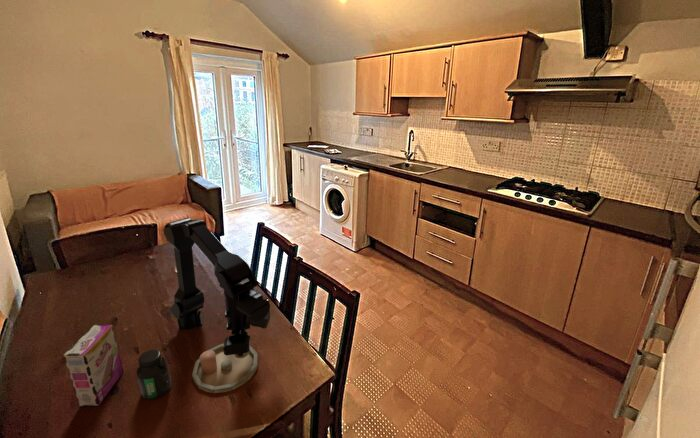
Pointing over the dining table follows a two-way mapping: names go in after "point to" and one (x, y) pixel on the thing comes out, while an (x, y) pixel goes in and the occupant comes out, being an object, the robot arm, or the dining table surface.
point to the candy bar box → (94, 365)
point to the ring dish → (226, 371)
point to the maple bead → (242, 356)
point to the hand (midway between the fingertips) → (241, 350)
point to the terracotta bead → (208, 362)
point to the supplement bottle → (153, 375)
